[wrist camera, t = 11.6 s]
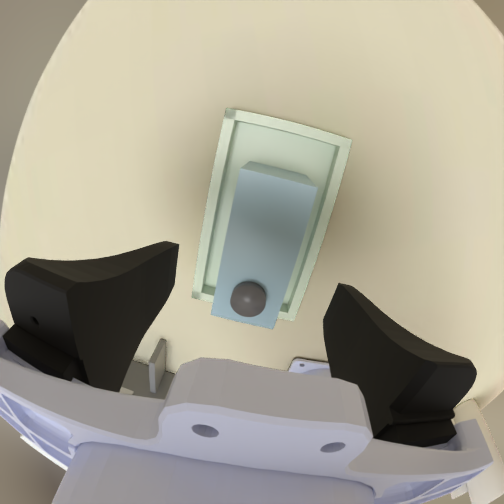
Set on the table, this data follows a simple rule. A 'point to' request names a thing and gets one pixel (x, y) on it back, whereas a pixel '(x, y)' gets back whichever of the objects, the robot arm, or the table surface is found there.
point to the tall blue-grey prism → (262, 243)
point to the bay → (149, 376)
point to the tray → (281, 156)
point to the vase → (491, 479)
